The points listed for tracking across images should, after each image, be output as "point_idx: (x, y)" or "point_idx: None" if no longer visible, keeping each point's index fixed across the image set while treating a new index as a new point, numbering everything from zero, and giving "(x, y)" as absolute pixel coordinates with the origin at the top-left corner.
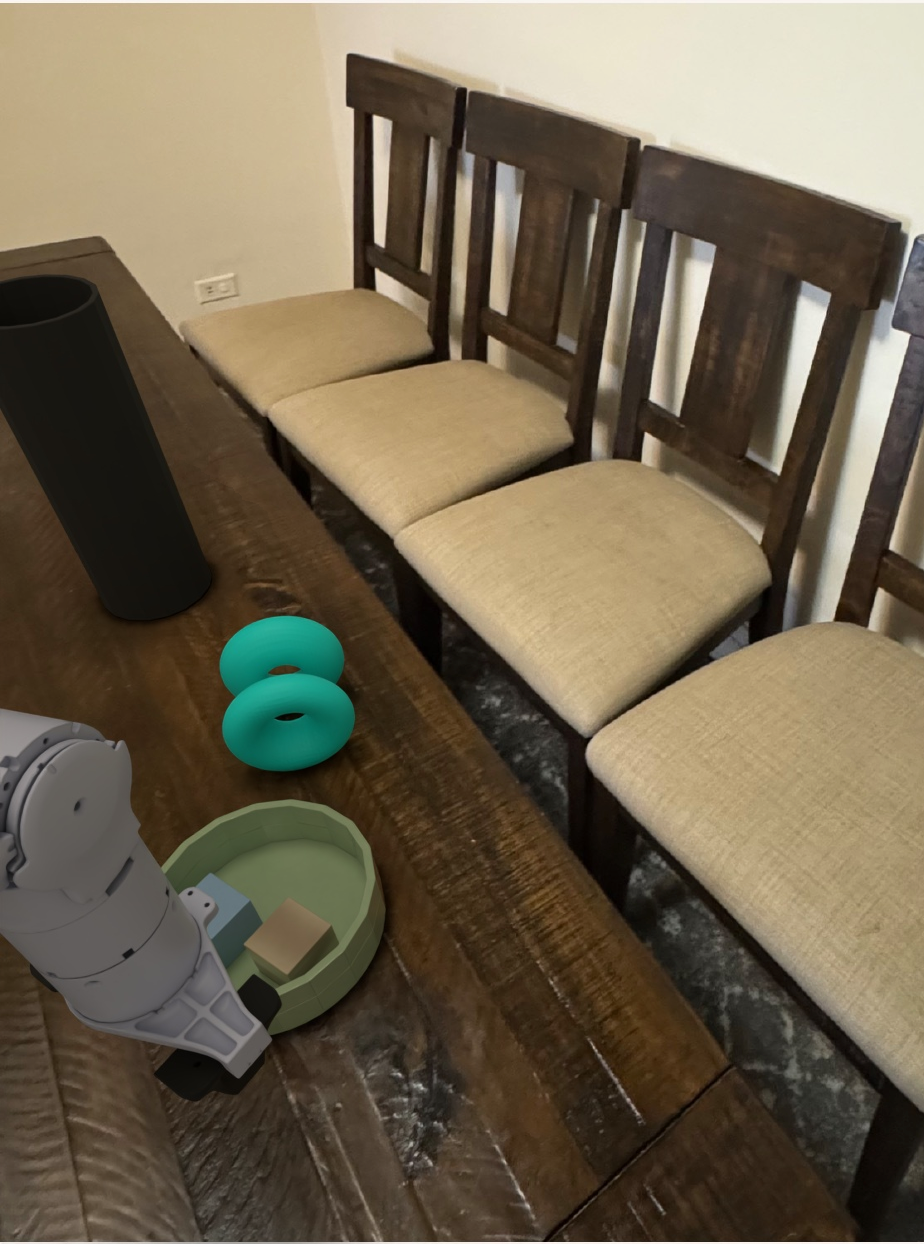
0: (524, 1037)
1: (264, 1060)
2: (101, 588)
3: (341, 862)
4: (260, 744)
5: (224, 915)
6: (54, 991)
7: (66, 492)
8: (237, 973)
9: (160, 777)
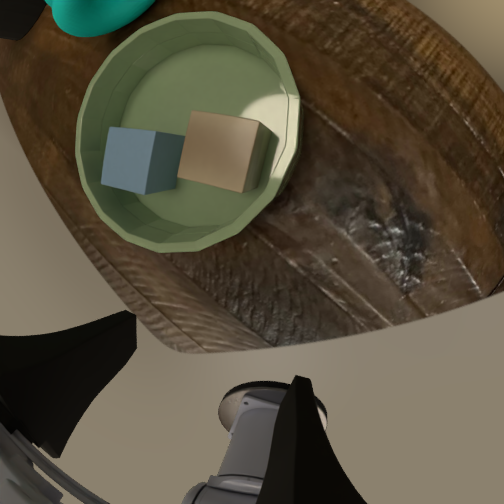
0: (462, 173)
1: (311, 384)
2: (4, 36)
3: (219, 54)
4: (95, 16)
5: (142, 157)
6: (58, 457)
7: None
8: (187, 183)
9: (63, 82)
